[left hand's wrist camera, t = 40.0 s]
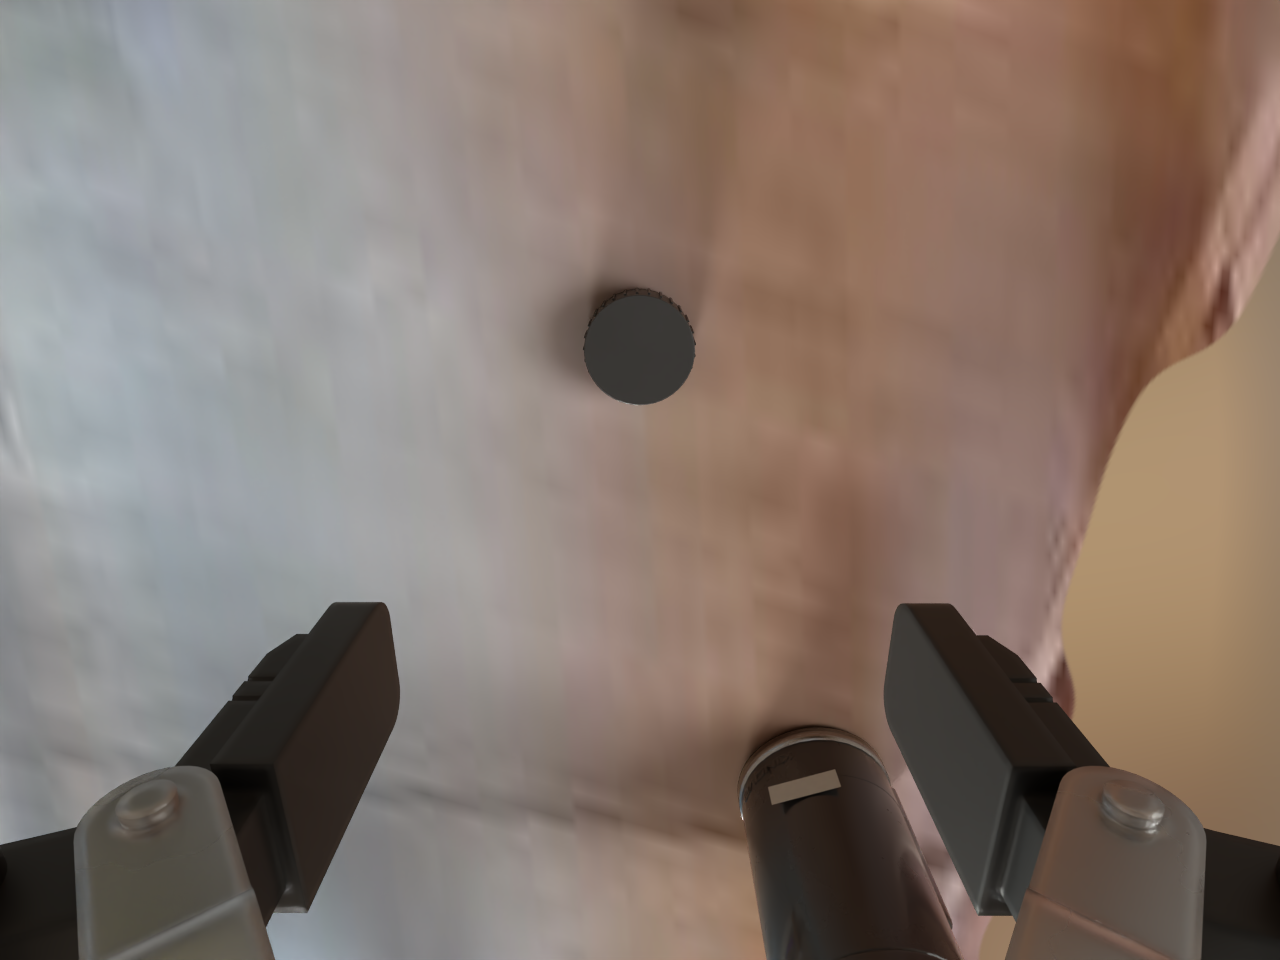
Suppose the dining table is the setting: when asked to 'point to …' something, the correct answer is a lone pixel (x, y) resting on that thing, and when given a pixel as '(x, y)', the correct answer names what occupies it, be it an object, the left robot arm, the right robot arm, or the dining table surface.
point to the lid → (639, 347)
